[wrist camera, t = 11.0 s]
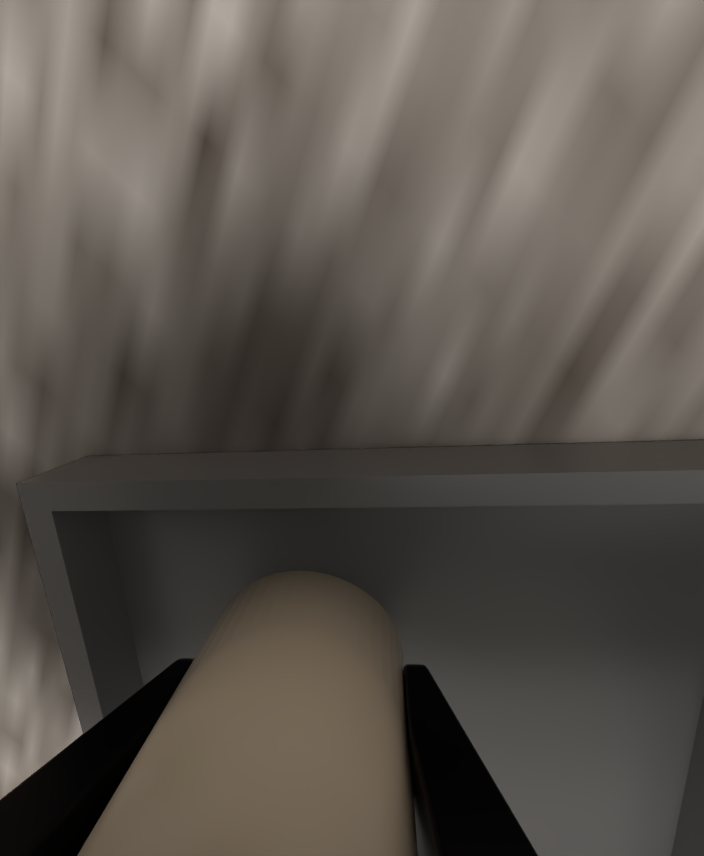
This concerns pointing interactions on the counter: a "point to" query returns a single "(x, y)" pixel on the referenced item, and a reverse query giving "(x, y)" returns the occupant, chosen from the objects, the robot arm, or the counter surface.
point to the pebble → (277, 736)
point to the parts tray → (429, 600)
